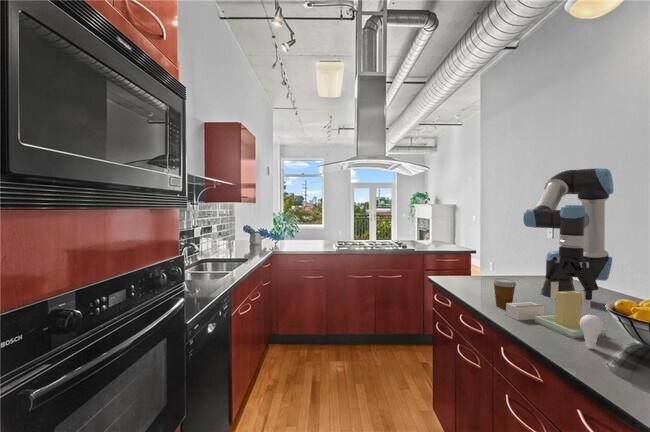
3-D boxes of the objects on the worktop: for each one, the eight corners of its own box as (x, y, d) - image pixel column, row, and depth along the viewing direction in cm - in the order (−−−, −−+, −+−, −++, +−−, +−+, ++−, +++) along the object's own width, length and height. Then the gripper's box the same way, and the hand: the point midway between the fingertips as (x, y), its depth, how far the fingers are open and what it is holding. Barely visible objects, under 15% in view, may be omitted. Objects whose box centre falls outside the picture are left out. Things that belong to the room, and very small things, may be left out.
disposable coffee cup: (518, 310, 155) (519, 283, 154) (495, 308, 157) (496, 281, 156) (511, 304, 164) (512, 278, 164) (489, 302, 166) (490, 277, 165)
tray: (564, 320, 141) (564, 314, 141) (605, 336, 125) (606, 329, 124) (534, 322, 139) (534, 316, 138) (572, 338, 122) (572, 331, 122)
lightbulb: (574, 345, 116) (575, 312, 116) (591, 344, 116) (592, 312, 116) (589, 353, 110) (590, 318, 110) (607, 352, 110) (608, 318, 110)
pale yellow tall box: (573, 324, 134) (574, 290, 133) (580, 327, 131) (581, 292, 130) (555, 325, 132) (556, 291, 132) (562, 328, 129) (563, 293, 129)
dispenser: (530, 313, 150) (531, 300, 150) (543, 318, 143) (544, 305, 143) (505, 315, 147) (506, 301, 147) (517, 320, 141) (518, 306, 140)
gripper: (536, 242, 142) (534, 294, 143) (594, 251, 118) (592, 313, 118) (552, 242, 143) (550, 294, 144) (612, 250, 119) (610, 312, 120)
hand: (569, 303), depth 131 cm, fingers open, 13 cm apart
